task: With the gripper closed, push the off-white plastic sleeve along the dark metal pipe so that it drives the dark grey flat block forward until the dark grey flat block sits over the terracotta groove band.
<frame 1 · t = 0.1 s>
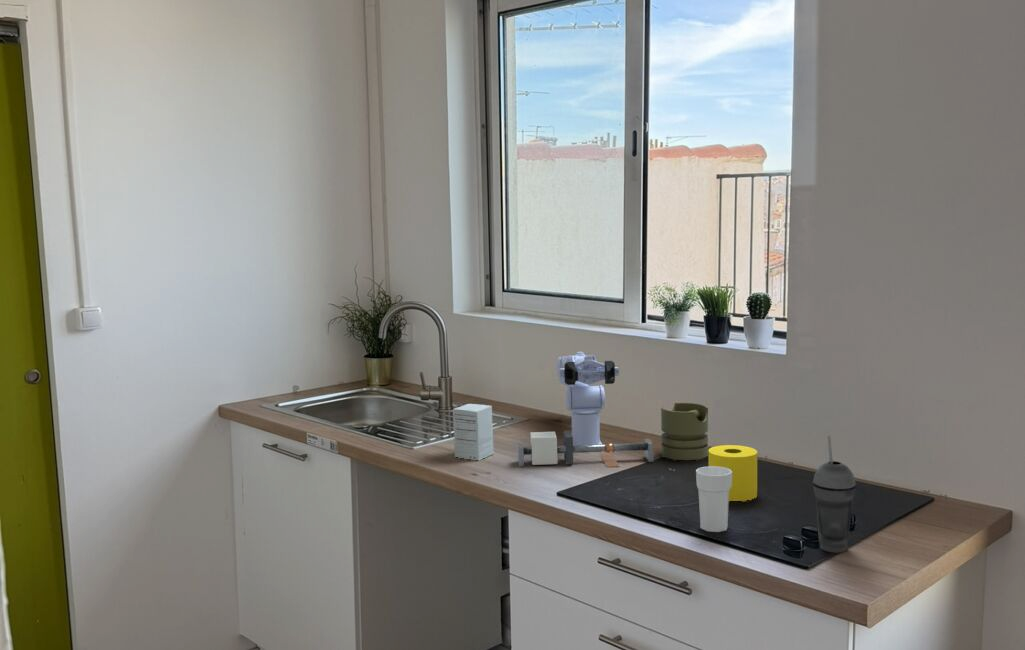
hand: (592, 375, 220), 22 cm above the worktop, tool horizontal, fingers open, 7 cm apart
pipe rig: (585, 461, 226), on the worktop
beverage cup: (833, 549, 165), on the worktop
supplement box: (474, 457, 234), on the worktop
yellow toilet paper roll: (732, 495, 197), on the worktop
piston: (684, 455, 230), on the worktop
dark grey flat block: (568, 447, 225), point 4 cm above the worktop, slide at 0.0 cm
cup: (714, 528, 177), on the worktop
sleeve: (543, 448, 225), point 4 cm above the worktop, slide at 0.0 cm
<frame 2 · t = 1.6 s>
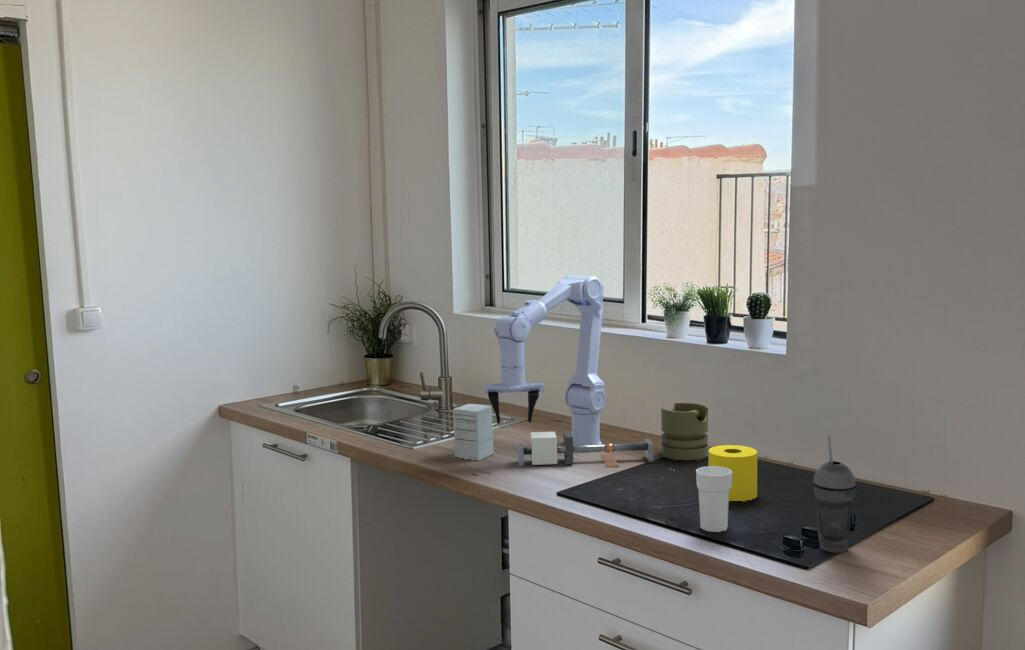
hand: (514, 422, 224), 10 cm above the worktop, tool pointing down, fingers open, 7 cm apart
nothing on the worktop moved.
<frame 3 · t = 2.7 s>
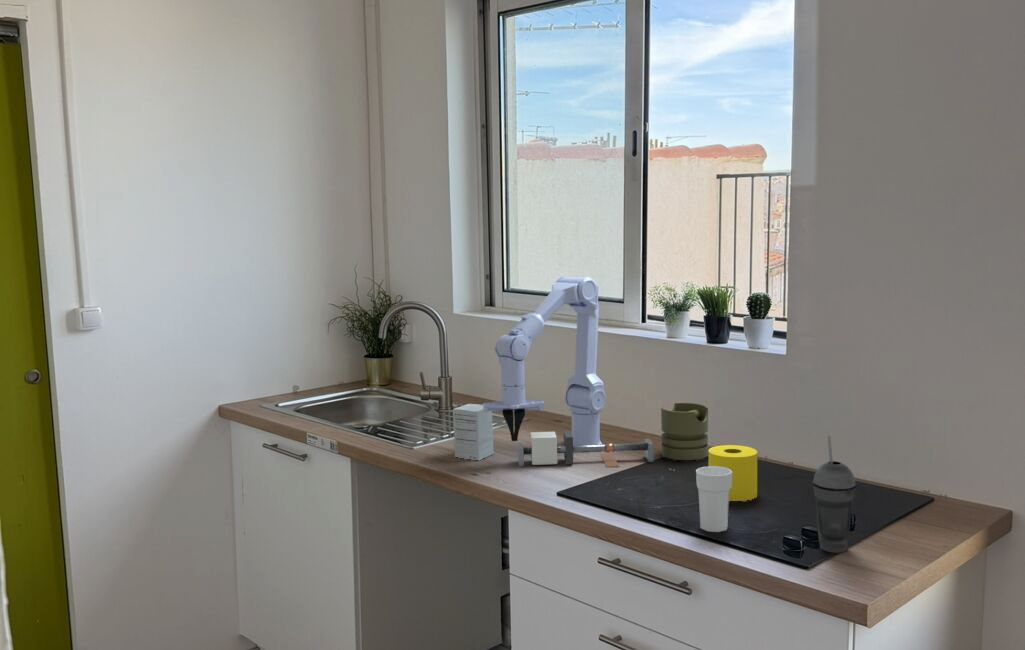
hand: (514, 440, 225), 6 cm above the worktop, tool pointing down, fingers closed
nothing on the worktop moved.
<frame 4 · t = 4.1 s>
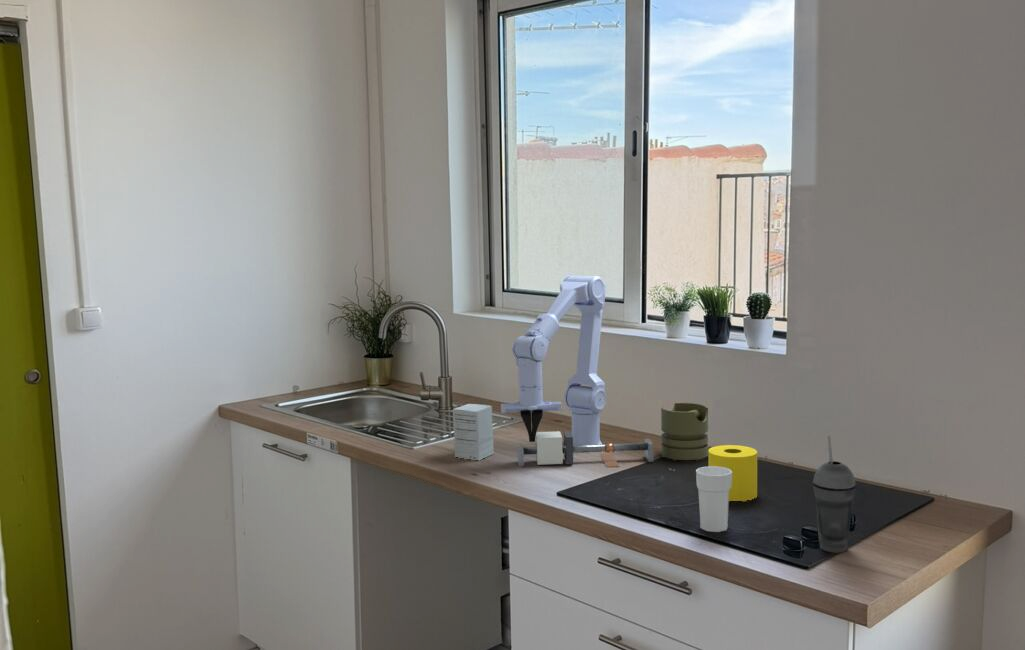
hand: (532, 441, 225), 6 cm above the worktop, tool pointing down, fingers closed
sleeve: (549, 447, 225), point 4 cm above the worktop, slide at 1.3 cm, touching gripper
everything else where it was.
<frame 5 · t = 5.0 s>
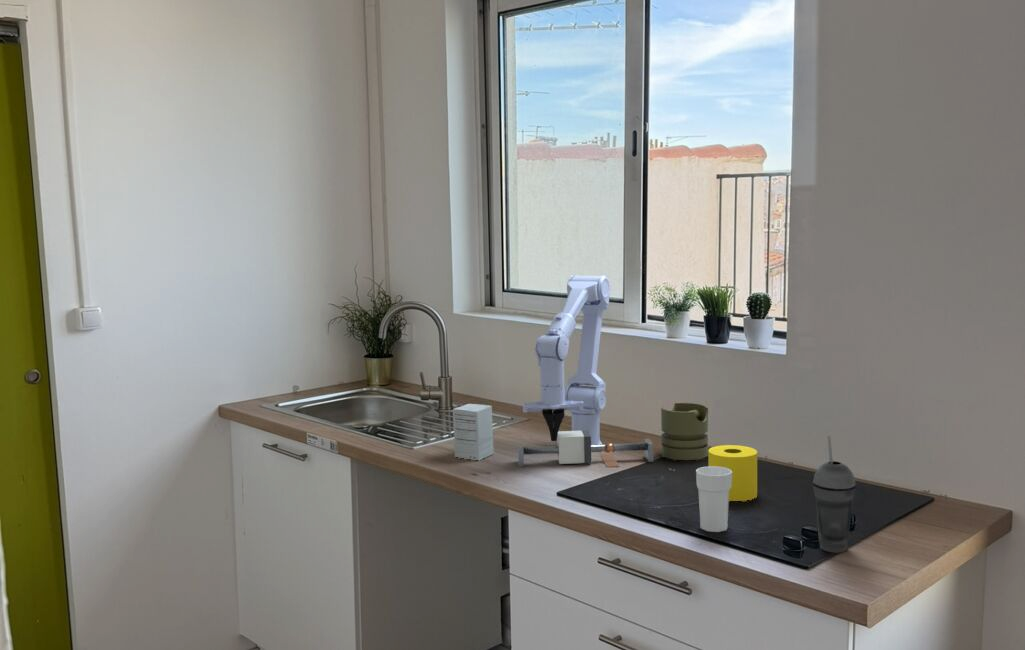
hand: (553, 440, 225), 6 cm above the worktop, tool pointing down, fingers closed
dark grey flat block: (586, 446, 226), point 4 cm above the worktop, slide at 4.3 cm, touching sleeve
sleeve: (570, 447, 225), point 4 cm above the worktop, slide at 6.5 cm, touching gripper, dark grey flat block
everything else where it was.
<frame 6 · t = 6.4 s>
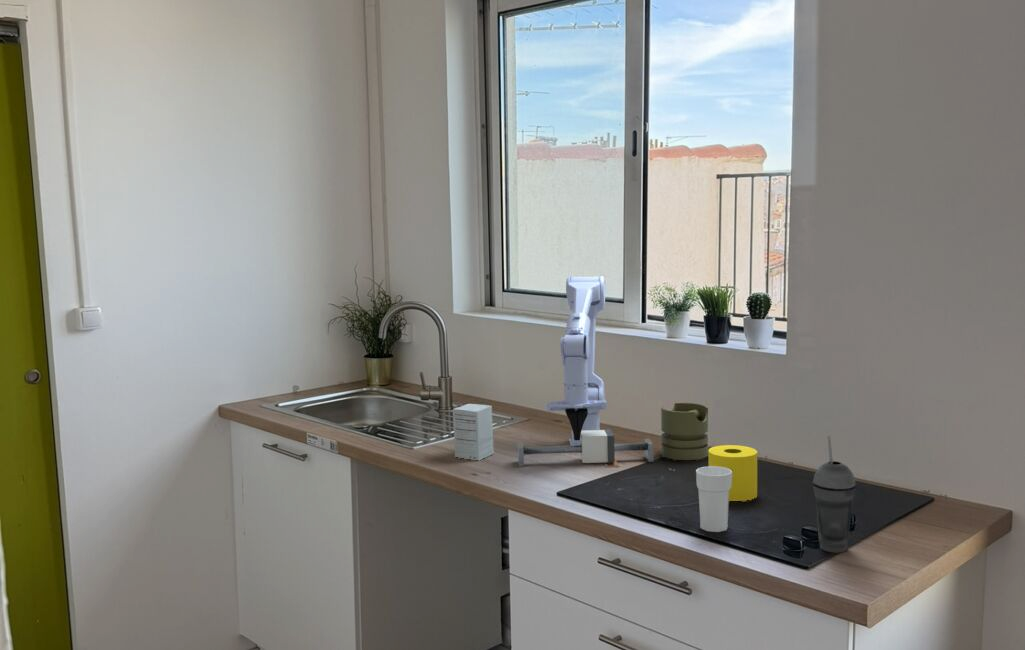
hand: (576, 439, 225), 6 cm above the worktop, tool pointing down, fingers closed
dark grey flat block: (609, 445, 226), point 4 cm above the worktop, slide at 9.9 cm, touching sleeve
sleeve: (593, 446, 226), point 4 cm above the worktop, slide at 12.1 cm, touching gripper, dark grey flat block
everything else where it was.
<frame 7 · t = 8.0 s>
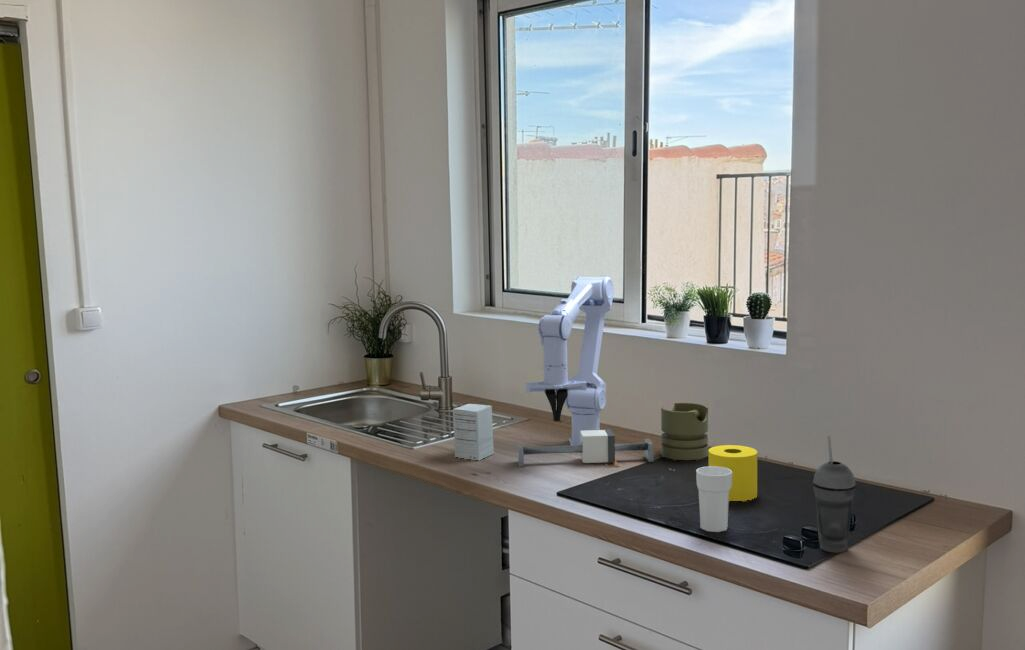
hand: (556, 420, 225), 10 cm above the worktop, tool pointing down, fingers closed
sleeve: (594, 446, 226), point 4 cm above the worktop, slide at 12.2 cm, touching dark grey flat block
everything else where it was.
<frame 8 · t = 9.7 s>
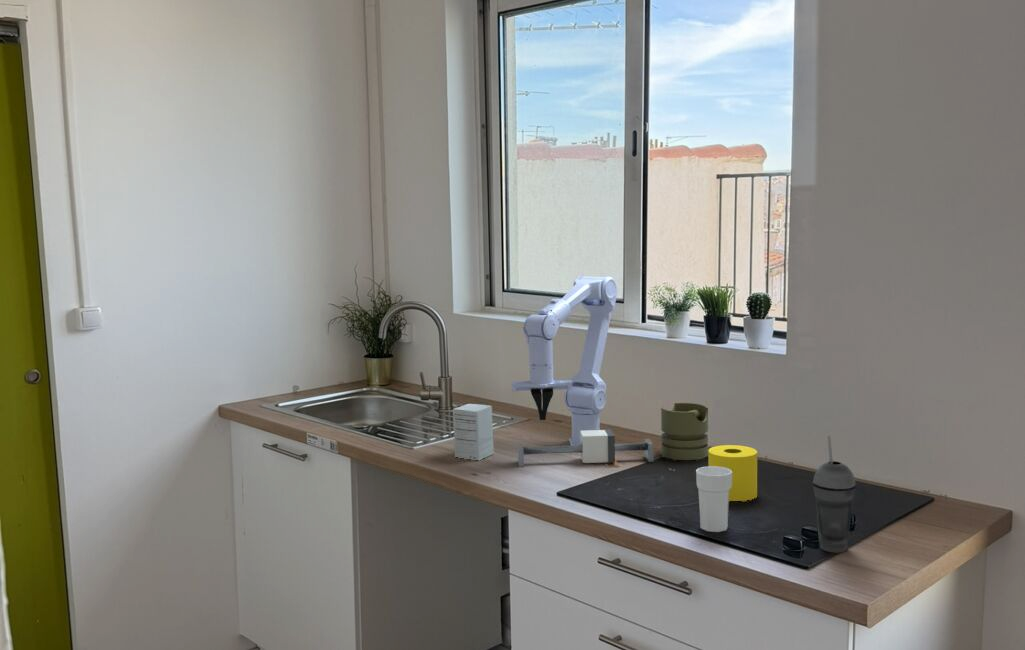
hand: (542, 419, 226), 10 cm above the worktop, tool pointing down, fingers closed
nothing on the worktop moved.
at the end: dark grey flat block slide at 10.0 cm; sleeve slide at 12.2 cm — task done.
